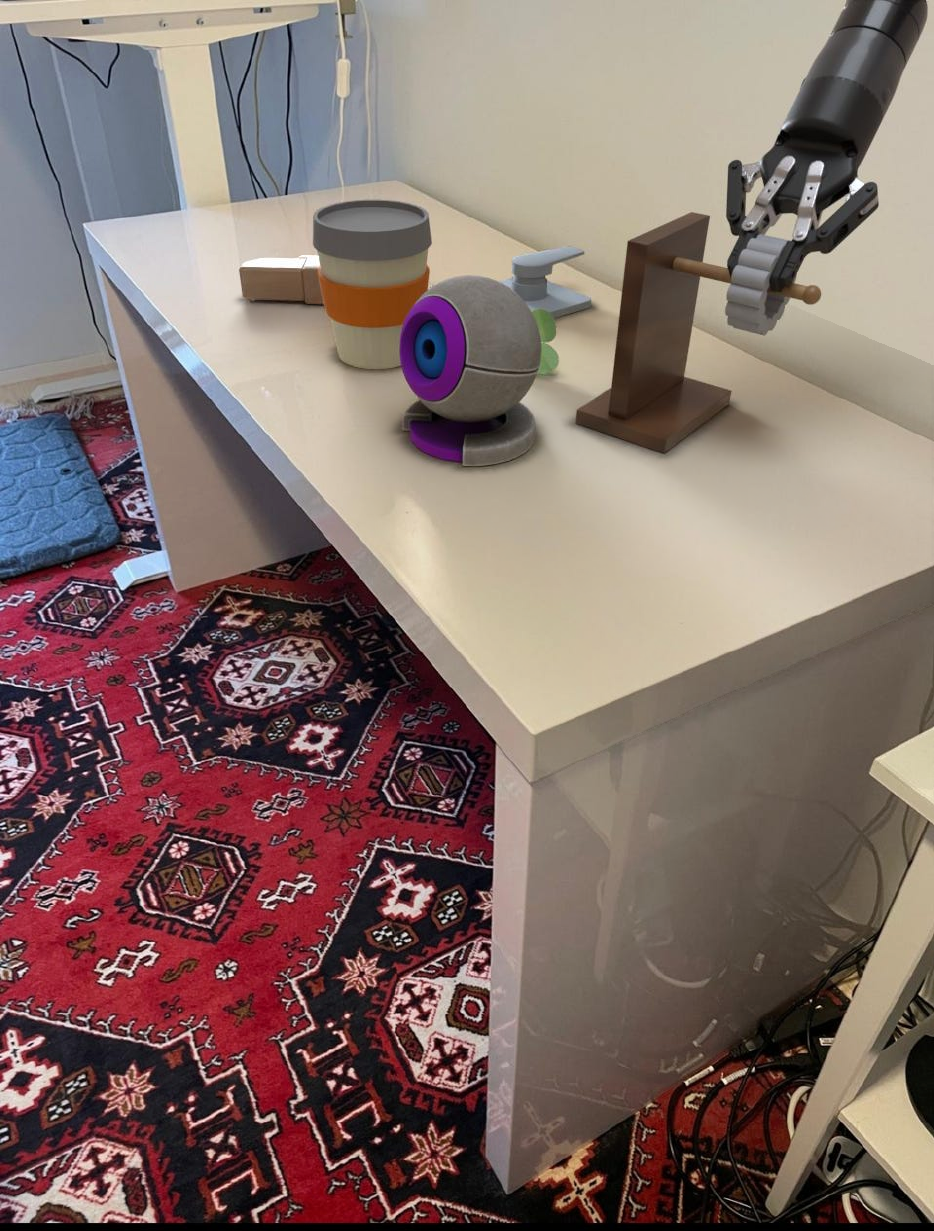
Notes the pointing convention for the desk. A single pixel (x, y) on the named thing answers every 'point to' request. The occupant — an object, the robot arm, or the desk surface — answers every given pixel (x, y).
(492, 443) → the webcam
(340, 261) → the reusable coffee cup
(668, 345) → the rack
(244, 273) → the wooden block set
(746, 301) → the grey scalloped ring
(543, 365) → the seedling
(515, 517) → the desk surface
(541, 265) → the shower valve
